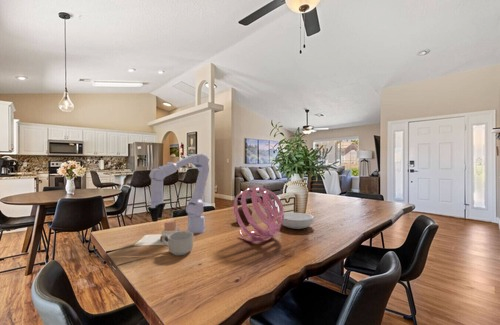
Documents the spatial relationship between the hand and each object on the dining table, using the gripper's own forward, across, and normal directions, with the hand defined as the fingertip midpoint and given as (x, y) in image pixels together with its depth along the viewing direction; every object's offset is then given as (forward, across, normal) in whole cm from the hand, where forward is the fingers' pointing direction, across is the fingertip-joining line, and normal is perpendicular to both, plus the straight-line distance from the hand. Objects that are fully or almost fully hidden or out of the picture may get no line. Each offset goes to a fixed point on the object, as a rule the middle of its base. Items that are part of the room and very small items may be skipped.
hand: (157, 219), depth 120 cm
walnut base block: (+10, 0, +7) cm, 12 cm away
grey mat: (+10, 0, +2) cm, 11 cm away
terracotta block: (+5, 0, +6) cm, 8 cm away
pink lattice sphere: (+10, +3, +52) cm, 53 cm away
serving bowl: (+10, -18, +77) cm, 80 cm away
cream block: (+8, 0, +7) cm, 10 cm away
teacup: (+11, +17, +14) cm, 24 cm away
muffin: (+10, -31, +46) cm, 56 cm away
